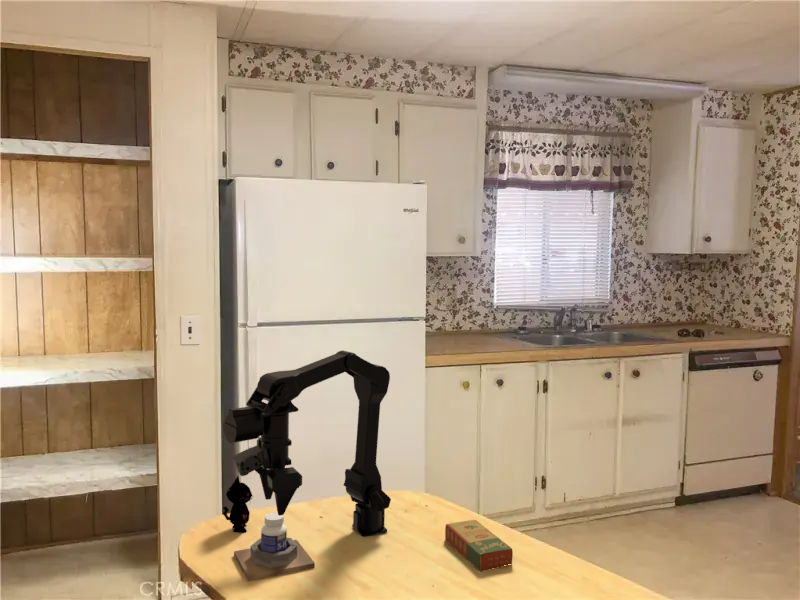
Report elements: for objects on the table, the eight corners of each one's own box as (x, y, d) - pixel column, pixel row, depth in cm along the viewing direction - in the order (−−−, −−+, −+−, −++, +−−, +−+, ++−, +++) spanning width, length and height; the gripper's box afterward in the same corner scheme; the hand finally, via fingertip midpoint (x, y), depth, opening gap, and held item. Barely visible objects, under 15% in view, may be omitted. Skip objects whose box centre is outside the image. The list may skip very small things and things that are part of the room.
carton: (475, 535, 159) (476, 518, 158) (513, 566, 144) (514, 547, 144) (444, 541, 155) (444, 523, 155) (479, 573, 141) (480, 553, 140)
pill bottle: (280, 564, 140) (281, 522, 139) (257, 561, 141) (257, 520, 140) (290, 552, 145) (290, 512, 144) (267, 549, 146) (267, 510, 145)
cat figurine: (253, 534, 156) (253, 483, 155) (222, 536, 154) (222, 485, 153) (252, 521, 163) (252, 473, 162) (223, 523, 161) (223, 474, 160)
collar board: (296, 543, 152) (296, 528, 151) (314, 567, 141) (314, 551, 141) (234, 555, 145) (234, 540, 145) (248, 581, 135) (248, 564, 134)
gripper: (225, 427, 145) (225, 497, 147) (247, 452, 129) (247, 531, 130) (276, 421, 150) (275, 489, 152) (303, 445, 134) (302, 521, 135)
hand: (274, 506), depth 142 cm, fingers open, 9 cm apart
